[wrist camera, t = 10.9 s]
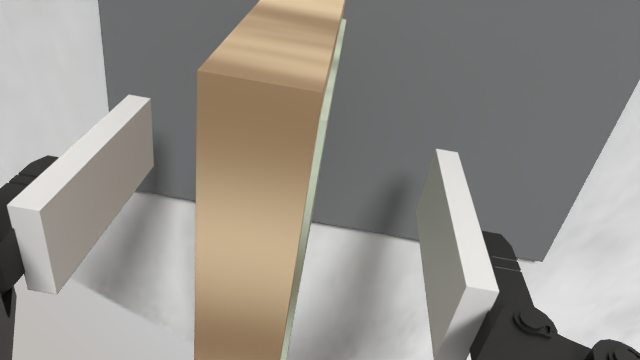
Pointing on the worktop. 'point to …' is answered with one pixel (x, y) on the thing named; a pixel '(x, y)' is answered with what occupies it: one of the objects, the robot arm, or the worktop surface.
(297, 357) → the worktop surface
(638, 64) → the rubber mat
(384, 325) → the worktop surface
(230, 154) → the oak board
